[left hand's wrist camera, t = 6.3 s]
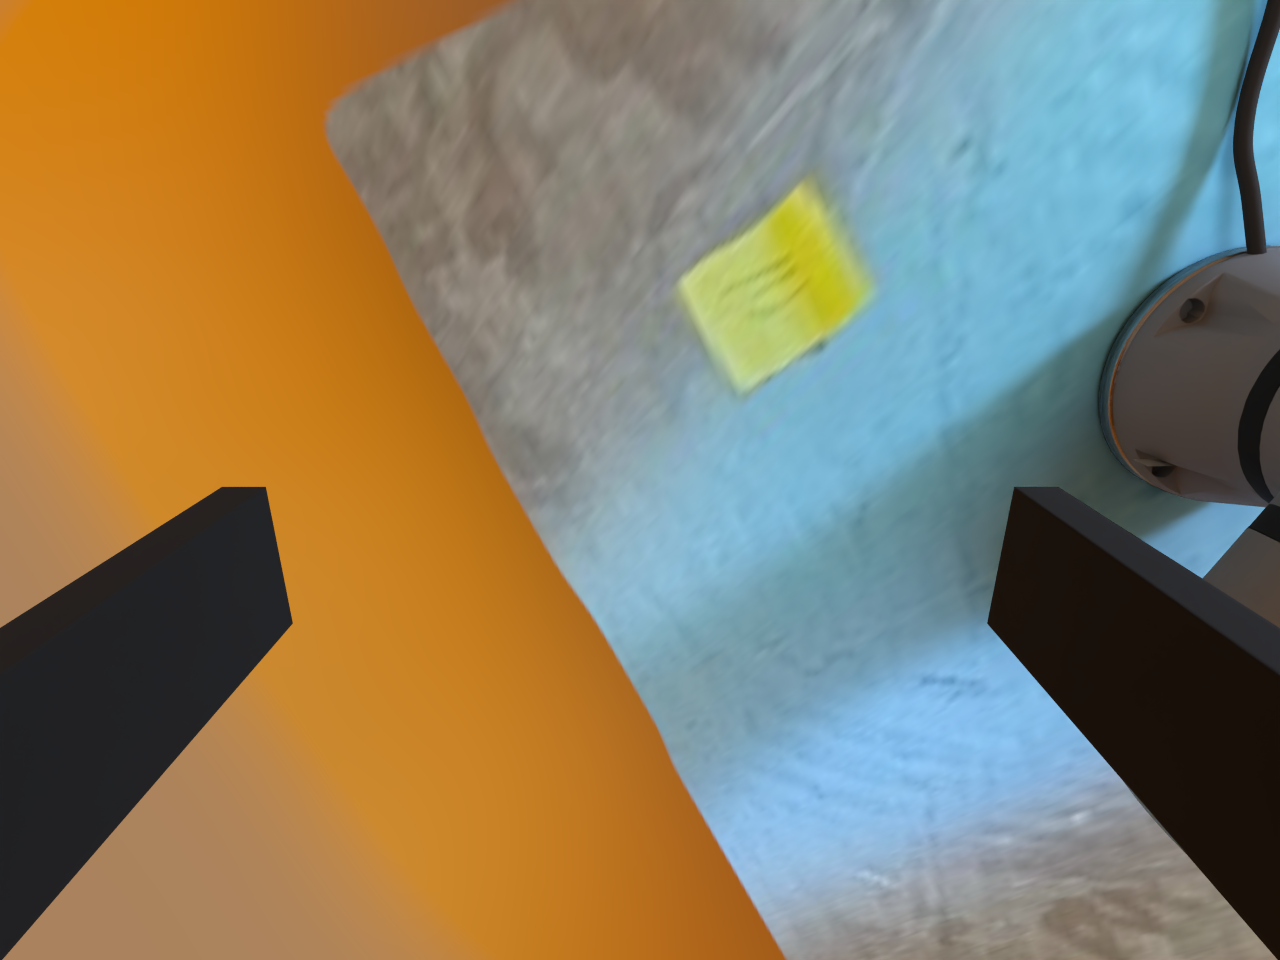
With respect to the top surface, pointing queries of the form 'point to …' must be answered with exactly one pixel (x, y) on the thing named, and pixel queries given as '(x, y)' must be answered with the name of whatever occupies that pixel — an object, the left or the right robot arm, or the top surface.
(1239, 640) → the left robot arm
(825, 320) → the top surface
